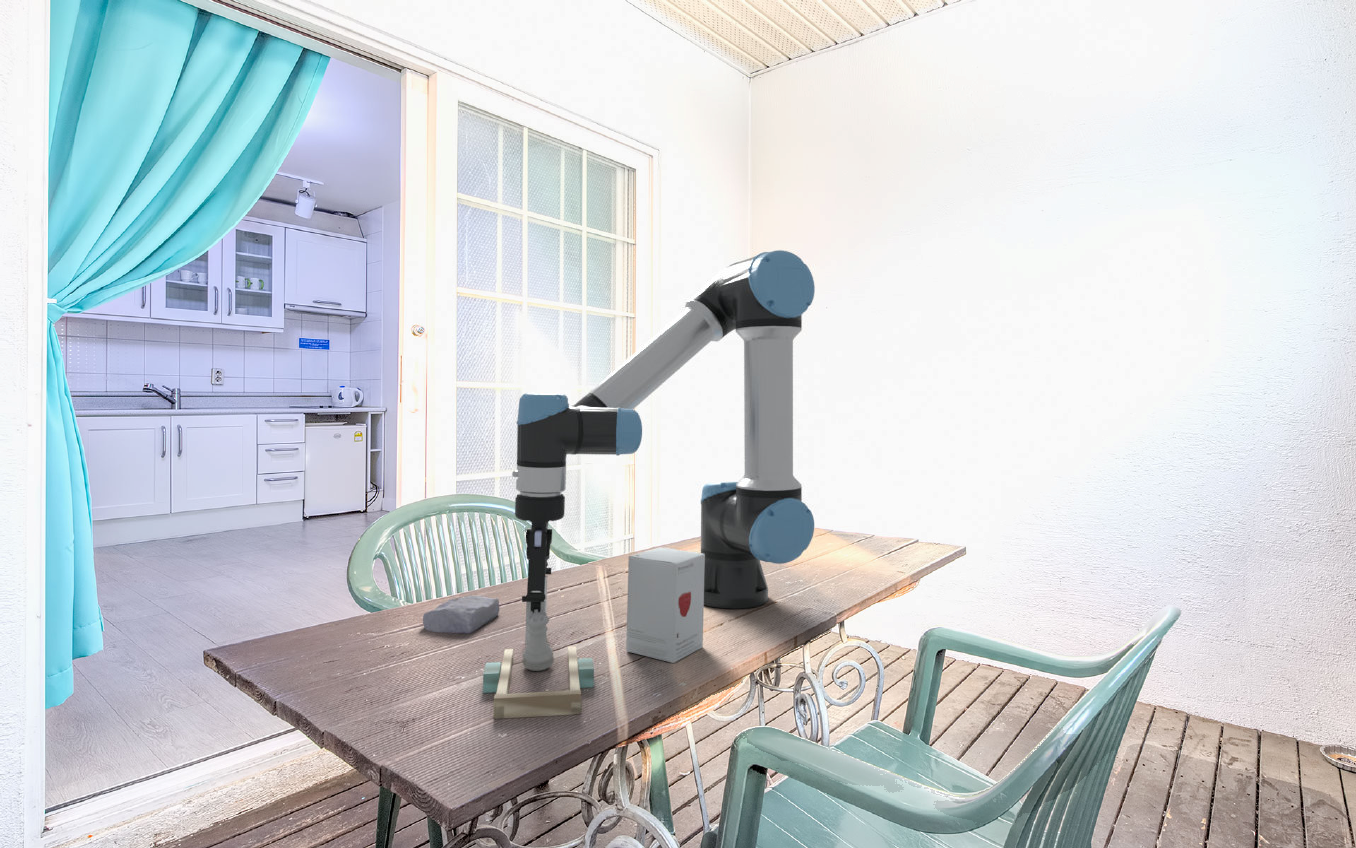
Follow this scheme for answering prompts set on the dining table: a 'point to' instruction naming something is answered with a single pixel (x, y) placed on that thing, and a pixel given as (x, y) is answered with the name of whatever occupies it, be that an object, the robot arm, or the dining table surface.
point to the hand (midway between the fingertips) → (536, 629)
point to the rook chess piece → (537, 642)
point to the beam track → (537, 701)
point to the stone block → (461, 614)
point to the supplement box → (665, 603)
